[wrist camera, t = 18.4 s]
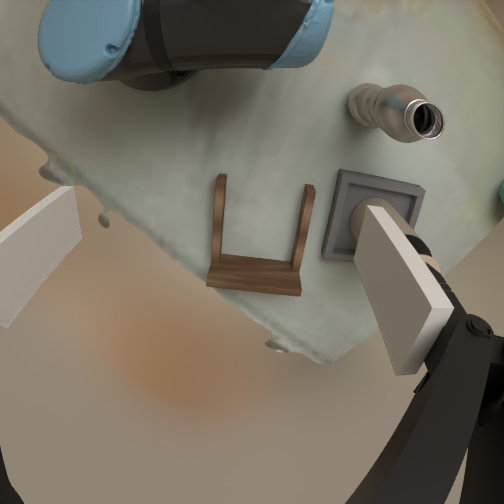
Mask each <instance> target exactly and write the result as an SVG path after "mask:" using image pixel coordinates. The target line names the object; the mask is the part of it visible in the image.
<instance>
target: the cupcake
mask: <svg viewBox="0 0 504 504" xmlns="http://www.w3.org/2000/svg"><path fill="white" fill-rule="evenodd" d="M499 196H500V199H501V200H502V202H503V203H504V181H503V182H502V184H501V186H500V189H499Z"/></svg>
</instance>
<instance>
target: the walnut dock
mask: <svg viewBox="0 0 504 504" xmlns="http://www.w3.org/2000/svg"><path fill="white" fill-rule="evenodd" d="M226 181H227V174H219V175H218V177H217V179H216V192H215V207H214V223H213V241H212V261H211V265H210V269H209V273H208V276H207V280H206V286H209V287H217V288H225V289H234V290H242V291H251V292H260V293H270V294H279V295H289V296H301V292H302V288H301V281H300V275H299V270H300V266H301V261H302V257H303V252H304V247H305V243H306V238H307V233H308V228H309V224H310V219H311V214H312V209H313V204H314V198H315V193H316V191H315V188H314V186H313V185H309V184H305V189H304V195H303V200H302V206H301V211H300V217H299V222H298V227H297V233H296V238H295V243H294V248H293V253H292V258H291V262H289V261H280V260H271V259H262V258H254V257H245V256H236V255H227V254H221V247H222V232H223V219H224V206H225V193H226Z"/></svg>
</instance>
